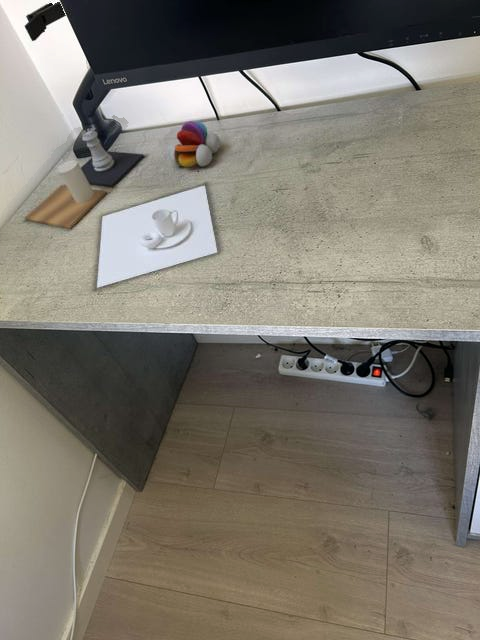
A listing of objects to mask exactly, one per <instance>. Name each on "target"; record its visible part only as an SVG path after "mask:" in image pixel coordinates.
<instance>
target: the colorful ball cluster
mask: <svg viewBox="0 0 480 640" xmlns="http://www.w3.org/2000/svg"><path fill="white" fill-rule="evenodd" d="M176 139H177V140H178V144H175V145H173V146H172V147H171V148H170V151H169V158H170V161H171V162H172V164H174V165H175V166H177V167H185V168H187V167H188V168H189V167H193V166H194V165H196V164H198V165H199V167H206V166H208V165H209V164H210V163H211V161H212V158H213V154H216V153H217V152H218V151H219V150H220V148H221V139H220V137H219V136H218V134H217V133H215V132H213V131H209V132H208V129H207V127H206V125H205V124H204V123H203V122H201V121H198V120H197V121H192V120H189V121H186V122H184V123H183V125H182V126H181V130H179V131H178V132H177V133H176Z"/></svg>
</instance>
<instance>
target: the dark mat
mask: <svg viewBox="0 0 480 640" xmlns="http://www.w3.org/2000/svg"><path fill="white" fill-rule="evenodd" d="M105 152H107V153H108V154H110V155H111V157H112V159H113V160H114V165H113V167H112V168H110V169H109V170H107V171H104V172H98V171H96V170H95V169H94V168H95V167H94V166H93V164H92V162H93V160H92V158H93V157H92V156H91V158H89V160H88V161H87V162H86V163H84V164H83V165H82V166H80V168H81V170H82V171H83V173H84V175H85V177H86V179H87V181H88V182H89V184H90V186H95V187H96V186H97V187H105V188H112V189H113V188H114V187H115V186H116V185H117V184H118V183H119V182H121V180H123V178H125V176H126V175H127V174H128V173H129V172H131V171H132V170H133V169H134V168H135V166H137V165H138V164H139V163H140V162H141V161H142V160H143V159H144V158H145V155H144V153H131V152H118V151H110V150H109V151H106V150H105Z"/></svg>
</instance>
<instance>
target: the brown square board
mask: <svg viewBox="0 0 480 640" xmlns="http://www.w3.org/2000/svg"><path fill="white" fill-rule="evenodd" d="M92 190H93V192H94V196H93V197H92V198H91V199H90V200H88V201H87V202H84V203H77V202H76V201H75V200H74V198H73V196H72V194H71V193H70V191H69V189H68V188H67V186H66V185H62V184H61V185H59V187H57V188H56V189H55V190H54V191H53V192H52V193H51V194H50V195H49V196H47V197H46V198H45V199H44V200H42V201H41V203H40V204H39V205H37V206H36V207H35V208H34V209H33V210H32V211H31V212H30V213H28V215H26V216H25V217H24V218H25V220H26V221H28V222H29V221H30V222H34V223H39V224H42V225H43V224H44V225H49V226H54V227H59V228H64V229H67V230H72V228H73V227H74V226H75V225H76V224H77V223H78V222H80V220H81V219H82V218H83V217H84V216H85V215H86V214H87V213H88V212H89V211H91V210H92V209H93V208H94V207H95V205H96V204H98V203H99V202H100V201H101V200H102V199H103V198H104V197H105V196H106V195H107V192H106V191H105V190H98V189H92Z"/></svg>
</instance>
